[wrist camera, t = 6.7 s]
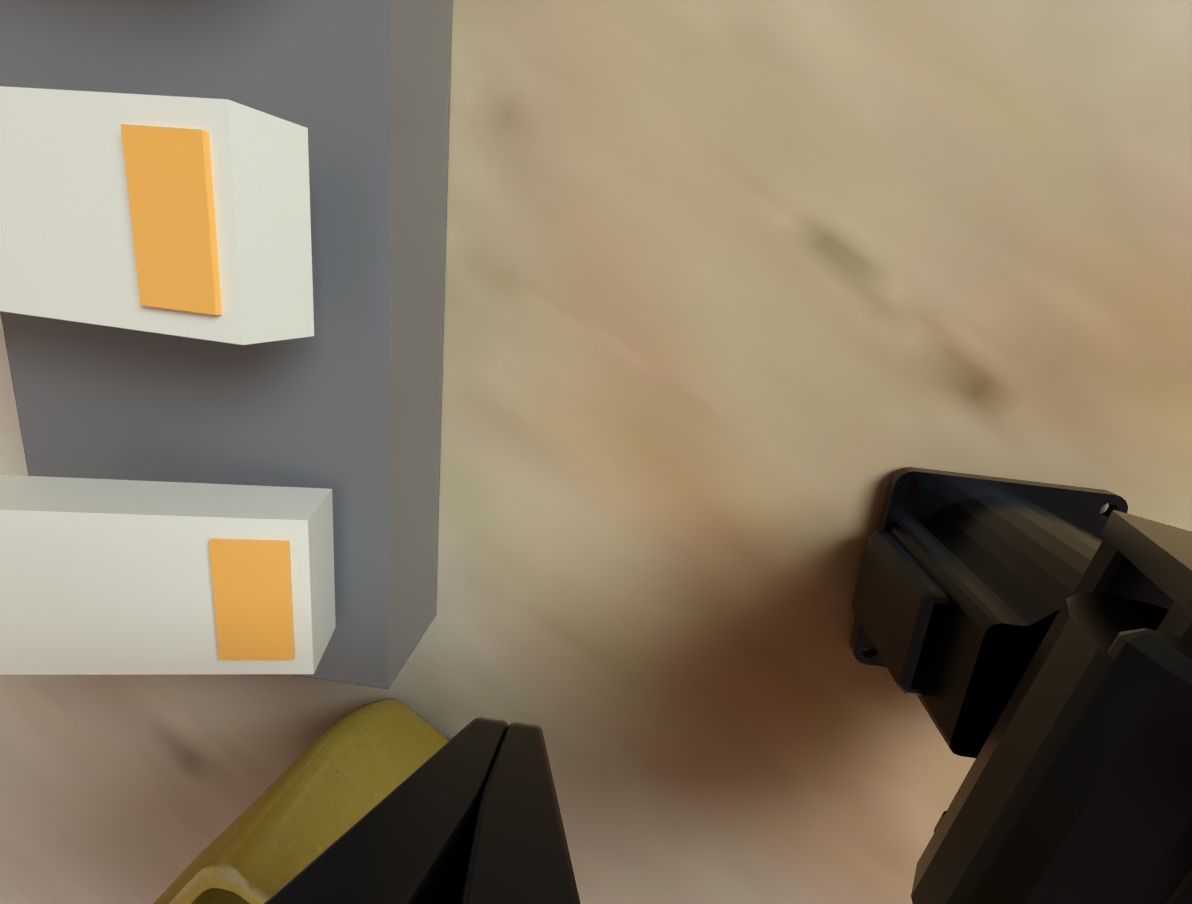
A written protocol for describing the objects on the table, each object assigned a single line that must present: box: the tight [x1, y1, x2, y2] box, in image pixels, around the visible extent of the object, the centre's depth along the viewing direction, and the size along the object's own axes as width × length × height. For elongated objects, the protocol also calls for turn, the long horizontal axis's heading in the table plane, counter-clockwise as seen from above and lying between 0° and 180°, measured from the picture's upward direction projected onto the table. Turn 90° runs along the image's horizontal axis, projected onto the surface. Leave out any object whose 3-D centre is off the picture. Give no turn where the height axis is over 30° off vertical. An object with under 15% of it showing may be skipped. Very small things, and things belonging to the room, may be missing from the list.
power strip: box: [0, 0, 453, 689], centre depth 16 cm, size 10×30×4 cm, turn 174°
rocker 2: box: [0, 475, 336, 675], centre depth 15 cm, size 8×4×2 cm, turn 85°
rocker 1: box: [0, 86, 314, 345], centre depth 12 cm, size 8×4×2 cm, turn 84°
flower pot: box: [154, 699, 449, 904], centre depth 19 cm, size 9×9×9 cm
